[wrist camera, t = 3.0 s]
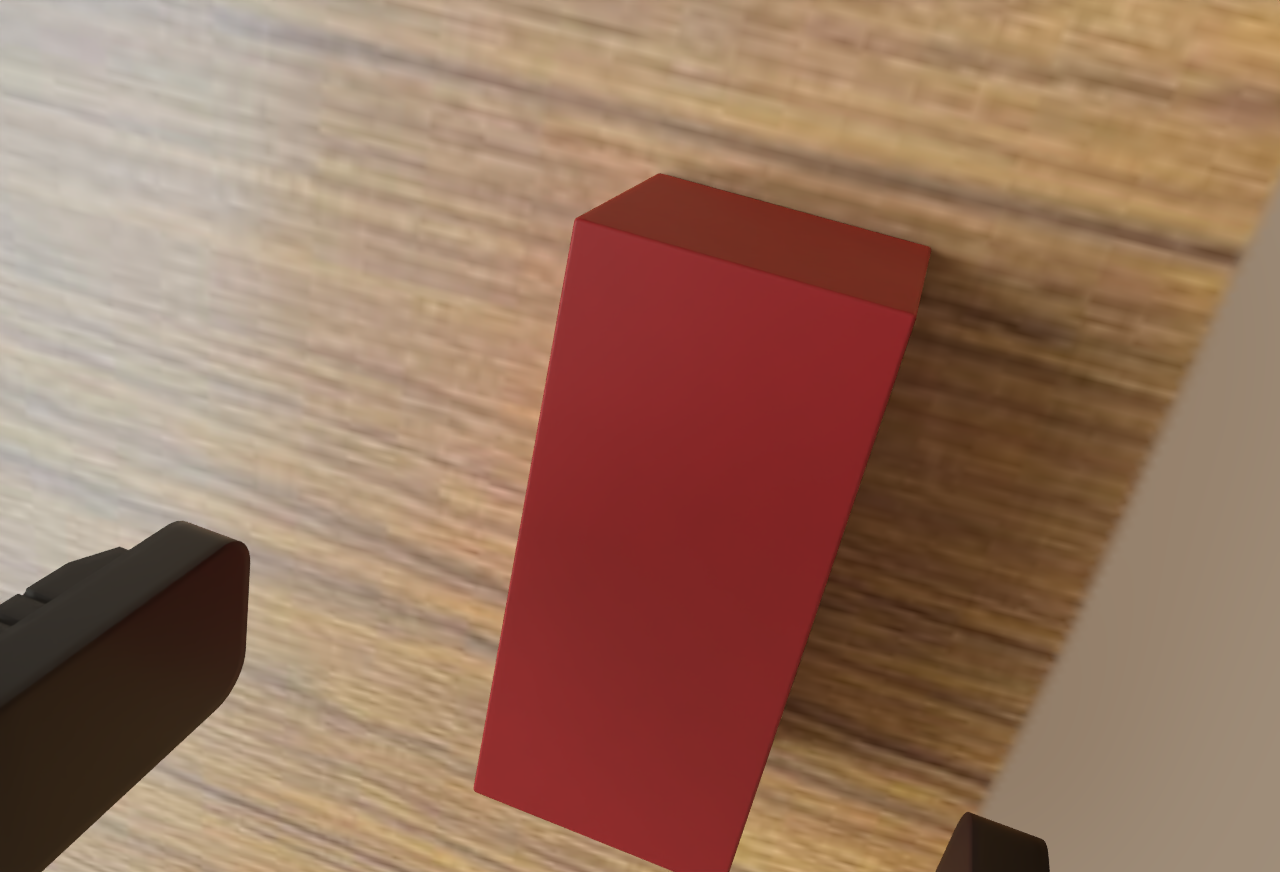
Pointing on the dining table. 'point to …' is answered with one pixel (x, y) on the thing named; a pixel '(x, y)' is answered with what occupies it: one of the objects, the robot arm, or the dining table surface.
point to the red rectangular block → (686, 508)
